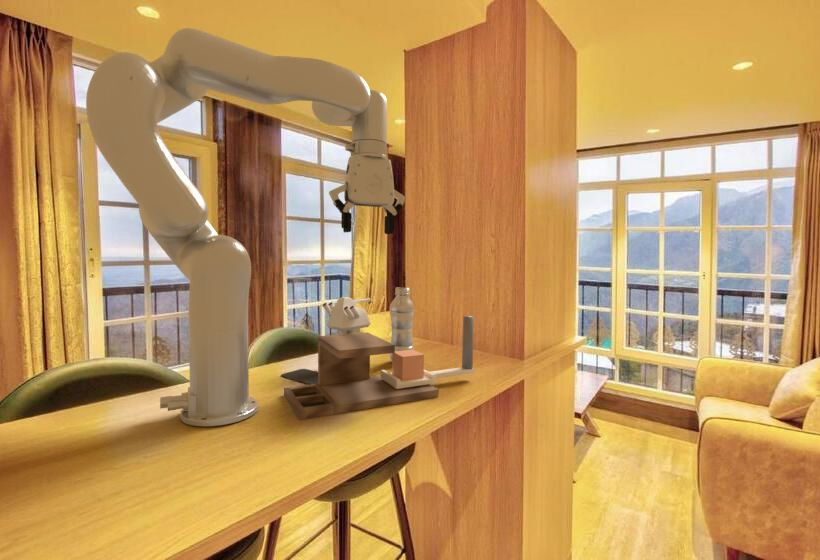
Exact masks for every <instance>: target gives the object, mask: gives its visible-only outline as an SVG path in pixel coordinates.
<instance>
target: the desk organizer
mask: <svg viewBox="0 0 820 560" xmlns="http://www.w3.org/2000/svg"><path fill="white" fill-rule="evenodd" d="M317 337H318V339H317V341H318V342H317V348H318V349H317V360H318V361H317V365H318V367H317V372H318V384H310V385H306V384H302V385H296V386H289V387H283V396H284V398H285V399H286V401H287V402H288V404H289V405H290V407H291V408H292V411H294V414H295V415H296V416H297V418H298V420H300V421H303V420H308V419H314V418H320V417H324V416H325V417H326V416H331V415H332V416H333V415H337V414H338V415H339V414H342V413H349V412H355V411H362V410H369V409H374V408H380V407H385V405H386V406H392V405H397V403H398V404H402V403H403V404H404V403H409V402H416V401H420V400H421V401H422V400H426V399H433V397H434V398H438V397H437V396H439V395H440V393H439V390H440V389H438V388H437V387H435V386H434V385H433V384H427V385H420V386H414V387H407V388H400V389H396V388H394V387H393V386H392V385H390V384H389V383H387V382H386V381H384V380H383V379H381V374H380V375H374V376H371V375H370V374H371V366H370V365H371V356H378V355H387V354H389V353H395V345H394V344H391V342H389V341H386V340H385V339H382V338H381V337H378V336H376V335H374V334H372V333H369V332H360V333H354V334H341V335H337V334H330V335H328V334H327V335H319V336H317ZM391 404H392V405H391Z"/></svg>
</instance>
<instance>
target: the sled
mask: <svg viewBox="0 0 820 560" xmlns="http://www.w3.org/2000/svg"><path fill="white" fill-rule="evenodd" d="M474 320H475V318H474V315H463V316H462V350H461V351H462V353H461V354H462V358H461V362H462V363H461V367H454V368H446V369H439V370H433V371H432V370H431V371H429V370H426V369H425V368H424V378H419V379H412V380H405V381H402V380H400V379H399V378H397V377H395V376H394V375H392V371H391V372H389V371H388V370H385V369H381V370H380V375H381V379H383V380H384V381H386V382H387V383H389V384H390V385H392V386H393V387H394V388H396V389H400V388H407V387H414V386H420V385H427V384H430V385H433V384H436V379H440V378H447V377H454V376H461V375H467V374H474V373H475V368H474V367H473V365H474V364H473V361H474V358H473V357H474V328H475V327H474V324H475V323H474V322H475V321H474Z"/></svg>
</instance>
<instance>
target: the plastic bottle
mask: <svg viewBox="0 0 820 560" xmlns="http://www.w3.org/2000/svg"><path fill="white" fill-rule="evenodd" d="M394 291H395V292H394V295H395V297H394V299H392V301H391V303H390V305H389V314H390V321H391V335H390V336H391V338H390V343H391V344H394V345H395V351H404V350H415V348H414V345H413V344H414V343H413V341H414V340H413V322H414V314H415V306H414V303H413V301H412V300H411V298H410V295H411V291H410V287H406V286H402V287H401V286H398V287H397V286H396V287H395V290H394ZM389 358H390V360H391V362H392V353H389Z"/></svg>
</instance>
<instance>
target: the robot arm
mask: <svg viewBox="0 0 820 560" xmlns="http://www.w3.org/2000/svg"><path fill="white" fill-rule="evenodd" d="M210 91H213V92H217V93H220V94H224V95H227V96H232V97H235V98H237V99H241V100H246V101H249V102H253V103H255V104H258V105H263V106H266V105H269V106H270V105H281V104H286V103H292V102H297V101H301V102H303V101H305V102H306V101H307V102H311V109H312V113H313V115H314V116H315V117H316V119H317V120H319V122H321V123H323V124H325V125H327V126H333V127H334V126H335V127H350V128H351V143H349V144H348V143H346V144H345V147H344V148H345V149H344V150H345V151H346V152H349V154H350V157H349V156H348V161H347V165H346V169H345V179H344V184H342V185H340V186H338V187H335V188H334V189H331V190H329V192H328V195H329V197H330V199H331V201H332V203H333V206H335V207H336V209H338V211H339V213H340V214H341V218H340V219H341V225H340V226H341V229H342V231H343V233H351V232H352V213H351V212H350V210H351V209H352V208H353V207H354V206H356V207H357V206H358V207H371V208H382V210H383V211H384V212H385V217H384V234H385V235H392V234H394V230H395V225H396V223H395V219H396V216H397V214H398V213H399V212H400V211H401V209H402V208H403V205H404V203H405V202H406V198H407V197H406V196H405V195H403V194H402V193H400V192H399V191H397V190H396V189H395V183H394V182H395V181H394V172H393V165H392V161H391V159H389V158H388V157H387V156H388V152H387V151H388V99H387V97H386V95H385V94H383V92H381V91H377V90H373V89H370V87H369V86H368V83H367V82H366V81H365V79H364V78H363V77H362V76H361V75H359V74H358V73H356V72H355V71H353V70H351V69H349V68H346V67H343V66H341V65H338V64H337V63H333V62H330V61H327V60H324V59H318V58H314V57H313V58H311V57H300V56H290V55H289V56H287V55H273V54H269V53H265V52H263V51H260V50H257V49H254V48H252V47H251V48H250V47H248V46H245V45H242V44H240V43H237V42H234V41H231V40H228V39H226V38H223V37H220V36H218V35H214V34H211V33H210V32H206V31H203V30H199V29H196V28H190V27H189V28H188V27H187V28H182V29H178V30H177V31H175V32H174V34H173V35H172V36H171V37H170V38H169V40H168V42H167V45H166V47H165V50H164V52H163V54H162V55H160V56H159V57H158V58H156V59H155V60H153V61H151V62H149V61H148V60H147V59H146V58H144V57H142V56H141V55H139V54H137V53H133V52H127V51H125V52H124V51H122V52H116V53H114V54H110V55H109V56H107V57H106V58H105V59H103V60H102V62H100V63H99V64H98V66H97V67H96V69H95V70H94V72H93V74H92V76H91V78H90V81H89V83H88V87H87V90H86V100H85V101H86V103H85V105H86V106H85V107H86V116H87V121H88V126H89V130H90V133H91V135H92V138H93V140H94V143H95V144H96V146H97V148H98V150H99V152H100V153H101V156H103V158H104V160H105V161H106V162H107V164H108V166H109V167H110V168H111V169H112V170H113V172H114V173H115V175H116V176H117V177H118V179H119V180H120V182H121V184H122V185H123V186H124V188H125V189H126V190H127V191H128V193H129V194H130V195H131V196H132V197H133V199H134V200H135V203H136V204H138V213H139V217H140V220H141V222H142V224H143V226H144V228H146V230H147V231H148V233H149V234H150V235H151V237H152V238H153V239H154V240H155V242H156V243H157V244H158V245H159V247H160V248H161V249H162V250H163V252H165V254H166V255H167V256H168V258H169V259H170V260H171V262H172V263H173V264H174V265H175V266H176V267H177V269H178V270H179V271H180V272H181V273H182V274H183V275H184V277H185V278H186V279H188V280H189V291H188V293H189V294H188V316H187V317H188V343H189V344H188V347H189V348H188V350H189V351H188V353H189V355H188V356H189V360H188V361H189V386H188V387H187V392H186V391H185V392H181V394H178V395H168V396H160V397H159V407H160V410H161V409H167V411H168V412H169V411H176V410H180V413H179V416H180V417H179V419H180V421H181V422H183V424H186V425H189V426H193V427H217V426H219V427H220V426H224V425H225V426H226V425H230V424H235V423H238V422H241V421H244V420H246V419H248V418H251V416H254V415H255V414H256V412H257V411H258V409H259V402H258V401H257V399H255V398H254V397H251V396H249V395H250V394H249V391H250V389H249V384H250V383H249V376H250V375H249V295H250V287H251V279H252V278H251V277H252V263H251V258H250V254H249V252H248V251H247V249H246V248H245V246H244V245H243V244H242V242H240V241H238V239H235V238H234V237H231V236H229V235H224V234H218V232H217V231H216V229H215V228H214V227H213V226H212V224H211V223H210V222H209V219H208V218H209V205H208V203H207V201H206V199H205V197H204V196H203V194H202V192H200V190H199V189H198V188H197V187H196V185H195V184H194V182H192V180H191V179H190V178H189V176H188V175H187V174H186V172H185V170H184V169H183V168H182V166H181V165H180V164H179V162H178V161H177V160H176V158H175V157H174V155H173V154H172V152H171V151H170V149H169V148H168V146H167V145H166V143H165V141H164V139H163V138H162V135H161V134H160V131H159V127H158V124H159V123H161V122H162V121H164V120H166V119H168V118H170V117H171V116H173V115H175V114H177V113H179V112H180V111H182V110H184V109H185V108H187V107H189V106H190V105H193V104H194V103H195V102H197V101H199V100H201V98H203V97H204V96H206V95H207V94H208V93H209V92H210ZM343 192H344V193H343ZM340 193H343V194H344V195H343V196H344V197H343V198H344V201H345V202H343V201H342V200H341V199H340V197H339V195H340ZM395 199H396V202H395ZM394 202H395V204H394Z"/></svg>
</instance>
